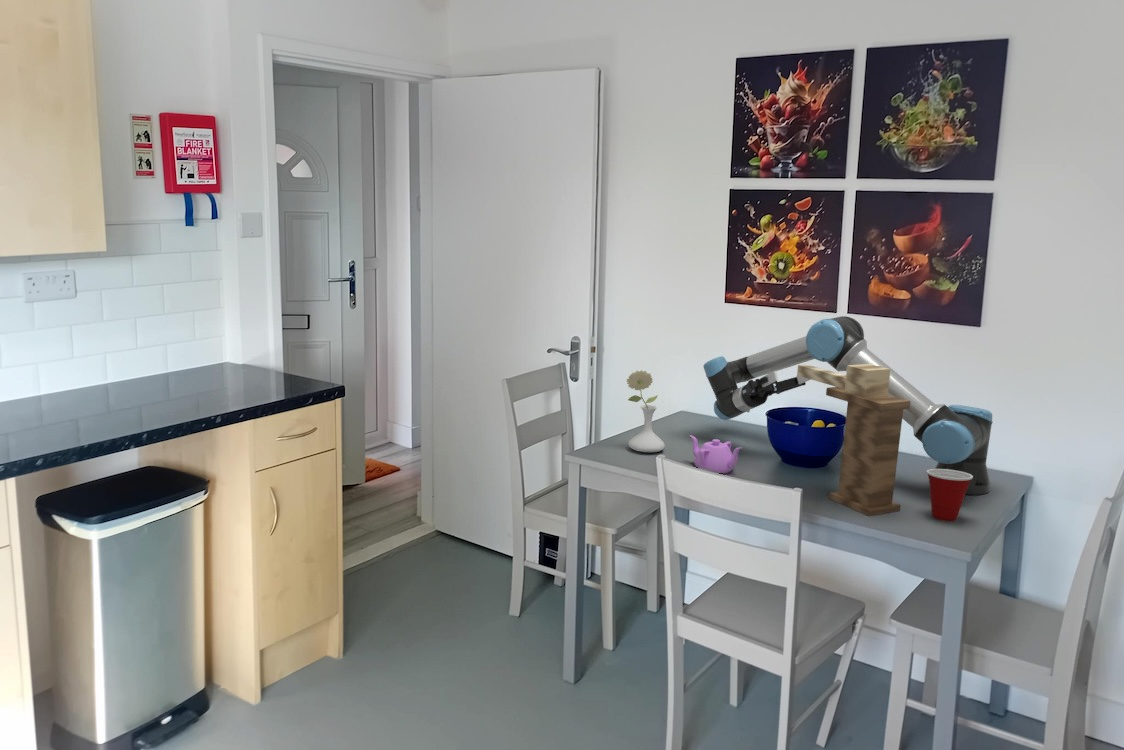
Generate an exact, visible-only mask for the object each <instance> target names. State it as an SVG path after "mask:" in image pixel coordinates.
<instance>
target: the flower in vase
mask: <svg viewBox="0 0 1124 750" xmlns="http://www.w3.org/2000/svg"><path fill="white" fill-rule="evenodd" d="M626 382H627V385H628V388H630V389H632V390H634V391H640V396H639V395H631V396H630V397H629V398H628V399H627V401H631V402H634V403H638V402H640V400H642V401H643V403H644V405H641V406H640V409H641V410H642V413H643V419H644V423H643V428H642V430H641V431H640V432H638V434H636V435H634V436H633V437H632V438H631V439H629V441H628V443H627V445H628V447H629V448H630V449H633V450H634V451H637V452H639V453H640V452H641V453H657V452H661V451H663V450H664V449H665V447H666V445H665V442H664V441H663V440H662V439H661V438H660V437H659V436H658V435H657V434H656V433H654V431H653V428H652V423H653V422H652V421H653V416H654V413H655V411H656V410H657V408H658V407H657V406H656V405H653V404H650V403H653V402H654V401H656V400H657V398H658V395H655V396H652V397H648V398H647V399H646V401H645V399H644V398H643V393H642V390H645V389H648V388H650V386H651V385H652V384H653V382H654V381H653V377H652V375H651V373H648V372H647V371H646V370H644V371H643V370H636V371H635V372H634V371H633V372H632V373H631V374H630V375H628V378H626Z"/></svg>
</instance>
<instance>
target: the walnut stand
mask: <svg viewBox="0 0 1124 750" xmlns="http://www.w3.org/2000/svg"><path fill="white" fill-rule="evenodd" d="M844 391H845V389H842V388H839V387H835V386H830V387H826V392H825V396H828V397H831V398H833V399H838V400H841V401H844V402H847V406H846V415H845V417H846V418H845V424H844V426H845V427H844V432H843V433H844V434H843V442H842V454H841V462H840V473H839V482H838V491H834V492H829V494H828V495H829V496H828V499H829V500H832V501H834V502H836V503H838V504H841V505H843V506H845V507H848V508H850V509H852V510H854V511H856V512H859V513H861V514H863V515H865V516H868V517H871V516H878V515H884V514H889V513H895V512H900V511H901V504H899V503H896V502H894V501H893V498H894V490H895V482H896V474H897V465H898V459H899V458H898V456H899V449H900V448H899V447H900V440H901V431H902V424H903V423H902V422H903V419H902V417H903V409H910V401H909V400H905V399H901V398H898V397H894V396H891V395H888V396H878V397H867V398H864V397H860V396H857V395H854V394H850V393H847V392H844Z"/></svg>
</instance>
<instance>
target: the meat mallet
mask: <svg viewBox="0 0 1124 750" xmlns="http://www.w3.org/2000/svg"><path fill="white" fill-rule="evenodd" d="M890 370H891V369H888V368H884V367H880V366H876V365H872V364H862V365H847V371H845V372H846V374H842V373H839V372H835V371H831V370H828V369H825V368H820V367H817V366H813V365H809V364H797V370H796V371H797V372H796V377H797V376H801V377H804V378H808V379H811V380H812V381H814V382H818V383H822V384H824V385H830V386H831V387H839V388H842V389H845V391H844V392H847V393H850V394H854V395H857V396H860V397H864V398H867V397H878V396H888V387H889V379H890Z"/></svg>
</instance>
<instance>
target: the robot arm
mask: <svg viewBox="0 0 1124 750" xmlns="http://www.w3.org/2000/svg"><path fill="white" fill-rule="evenodd" d="M726 359H727V358H725V357H724V356H723V355H721V356H718V357H715V358H712V359H709V360H708V361H706V362H705V363H704V364H703V370H704V373H705V376H706V379H707V380H708V383H709V385H710V387H711V389H712V391H713V392H712V393H713V394H714V397H715V399H716V400H715V402H714V403H713V410H714V414H715V415H716V416H717V418H719V419H721V420H723V421H728V420H731V419H734V418H736V417H739V416H741V415H742V414H744V413H750V412H751V411H750V410H753V409H755V408H757V407H760V406H762V405H763V404H765V403H766V402H767V400H768V397H770V396H772V395H774V394H776V395H780V394H781V393H784V392H788V391H789V390H793V389H796V388H799V387H800V388H801V387H803V386H806V384H807V382H809V381H810V380H811V379H808V378H804V377H801V376H797V375H796V376H795V377H791V378H787V379H784V380H781V381H779V377H778V371H781V370H782V371H783V370H784V369H788V368H791V367H794V366H798V365H801V364H804V363H807V362H810V361H813V360H817V361H820V362H822V363H827V364H828V365H830V366H831V367H832V368H833V369H835V371H837V372H847V365H862V364H872V365H876V366H880V367H884V368H888V369H891V370H890V379H889V387H888V395H891V396H894V397H898V398H901V399H905V400H909V401H910V409H903V417H902V421H903V420H904V421H905V422H906V423H907V424H908V425H910V426H911V427H912V429H913V437H915V438H916V439H917V440H918V441H919V442H921V443H922V448H923V451H924V452H925V453H926V455H927V456H928V457H929V458H930V459H932V460H934V461H935V462H937V464H936V466H935V467H934V469H949V470H956V471H961V472H965V473H968V474H971V475H972V476H973V478H972V479H971V481H970V483H969V485H968V488H967V490H966V493H965V495H976V496H978V495H979V496H980V495H985V494H987V493H989V492H990V488H991V482H990V481H991V480H990V476H989V472H988V467H987V459H988V458H987V457H988V453H989V452H988V450H989V444H990V438H991V430H992V425H993V413H992V411H990V410H988V409H985V408H979V407H974V406H969V405H968V406H967V405H961V404H949V405H946V404H945V403H943V404H941V403H940V404H939V403H938V404H937V403H936V404H935V402H933V401H932V399H930V398H928V397H927V396H926V395H925V394H923V393H922V392H921V391H920V390H918V389H917V388H916V387H915V386H914V385H913V384H911V383H910V382H909V381H908V380H906V379H905V378H904V377H903V376H902V375H900V374H899V373H898V372H897V371H895V369H893V368H892V367H890V366H889V364H887V363H886V362H884V361H883V360H882V359H881V358H879V357H878V356H877V355H876V354H874V353H873V352H872V351H871V350H870V349H869V348H868V345H867V340H866V339H865V332H864V328H863V326H862V325H861V323H860V322H858V321H857V320H856V319H855V318H852V317H850V316H847V315H845V316H837V317H832V318H824V319H820V320H819V321H817V322H815V323H814V324H812V325H811V326H810V328H809V329H808V331H807V333H806V335H805V336H802V337H800V338H797V339H794V340H791V341H788V342H785V343H783V344H780V345H776V346H773V347H770V348H767V349H765V350H762V351H759V352H756V353H754V354H753V353H752V354H750V355H748V356H743V357H742V358H738V359H736V360H732V361H727V360H726ZM759 377H760V378H759ZM754 379H755V380H754ZM745 382H747V383H746V384H744V385H742V386H740V387H738V385H737V384H740V383H745ZM774 384H775V385H774Z"/></svg>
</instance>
